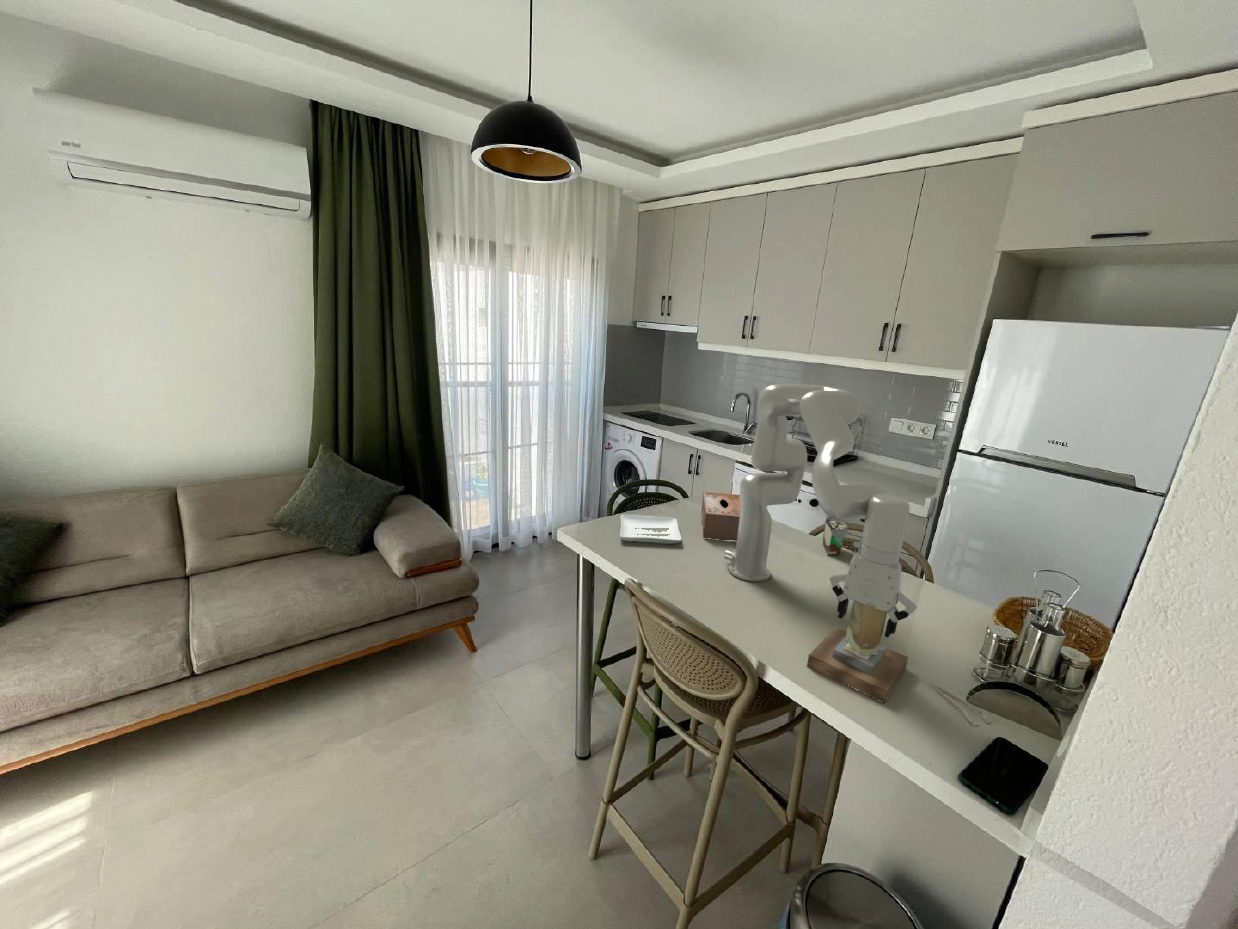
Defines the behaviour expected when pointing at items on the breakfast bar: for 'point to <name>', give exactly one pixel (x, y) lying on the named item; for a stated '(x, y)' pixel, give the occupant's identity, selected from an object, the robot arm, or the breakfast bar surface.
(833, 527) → the food container
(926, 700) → the breakfast bar surface
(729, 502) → the tissue box cover
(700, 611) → the breakfast bar surface
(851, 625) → the skincare box
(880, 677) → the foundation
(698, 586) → the breakfast bar surface
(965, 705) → the tweezers
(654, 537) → the salad plate
